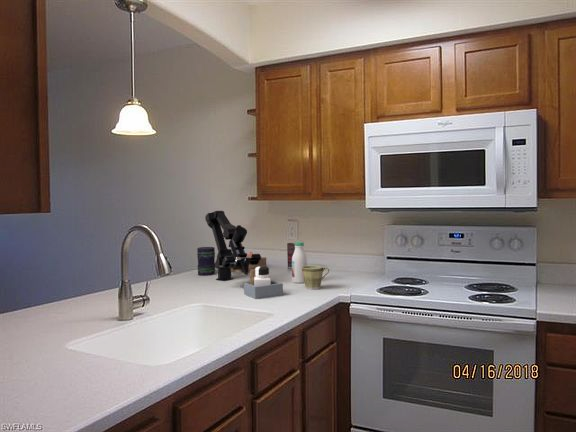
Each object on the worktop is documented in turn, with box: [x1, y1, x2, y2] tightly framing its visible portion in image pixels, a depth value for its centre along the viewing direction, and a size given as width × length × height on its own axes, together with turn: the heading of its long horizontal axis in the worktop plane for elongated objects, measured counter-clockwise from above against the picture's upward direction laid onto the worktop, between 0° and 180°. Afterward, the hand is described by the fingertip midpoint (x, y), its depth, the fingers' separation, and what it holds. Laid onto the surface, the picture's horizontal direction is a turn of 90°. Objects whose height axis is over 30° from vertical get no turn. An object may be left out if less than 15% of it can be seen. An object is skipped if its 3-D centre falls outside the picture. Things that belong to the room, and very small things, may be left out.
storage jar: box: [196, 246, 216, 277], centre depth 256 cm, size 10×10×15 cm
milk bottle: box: [291, 241, 308, 284], centre depth 229 cm, size 8×8×20 cm
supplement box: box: [286, 242, 295, 271], centre depth 265 cm, size 9×5×16 cm, turn 46°
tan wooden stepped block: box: [249, 269, 256, 285], centre depth 207 cm, size 5×8×9 cm, turn 120°
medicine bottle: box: [254, 265, 272, 286], centre depth 203 cm, size 7×7×12 cm
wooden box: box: [231, 256, 267, 274], centre depth 272 cm, size 14×23×6 cm, turn 145°
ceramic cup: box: [302, 265, 330, 291], centre depth 213 cm, size 13×10×10 cm
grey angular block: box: [243, 279, 284, 300], centre depth 201 cm, size 11×13×5 cm
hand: (247, 274), depth 215 cm, fingers closed
